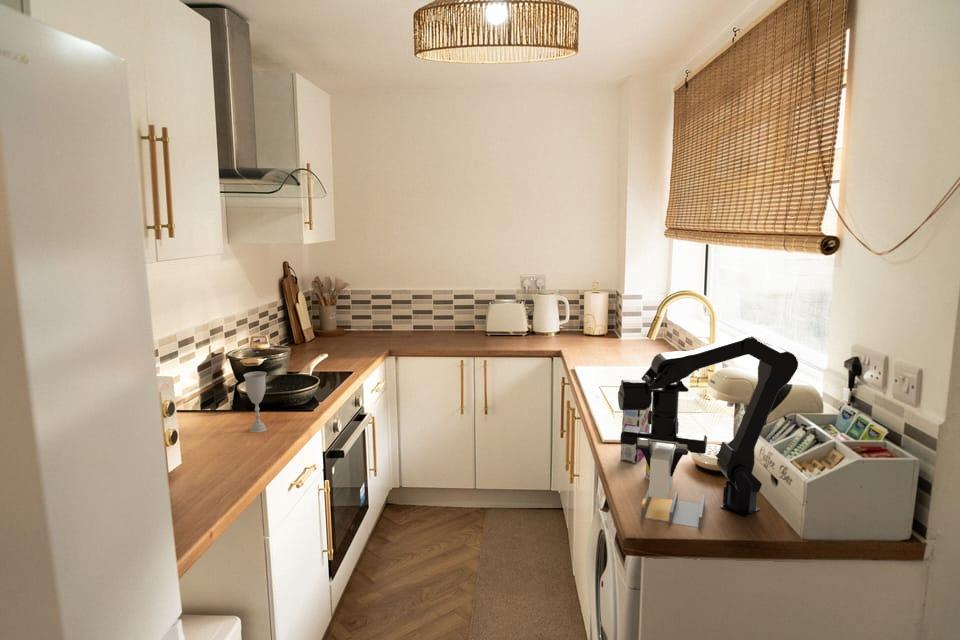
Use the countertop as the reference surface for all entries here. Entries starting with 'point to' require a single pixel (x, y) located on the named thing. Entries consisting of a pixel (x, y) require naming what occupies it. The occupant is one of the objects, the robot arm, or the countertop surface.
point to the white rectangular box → (661, 470)
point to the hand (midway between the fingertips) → (661, 474)
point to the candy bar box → (638, 420)
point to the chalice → (256, 395)
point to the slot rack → (673, 510)
